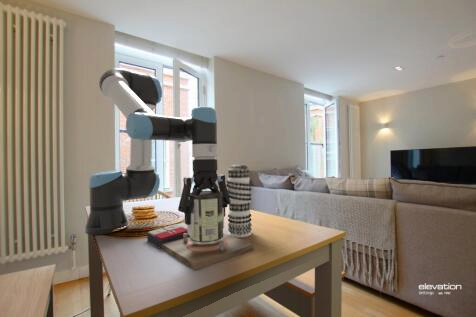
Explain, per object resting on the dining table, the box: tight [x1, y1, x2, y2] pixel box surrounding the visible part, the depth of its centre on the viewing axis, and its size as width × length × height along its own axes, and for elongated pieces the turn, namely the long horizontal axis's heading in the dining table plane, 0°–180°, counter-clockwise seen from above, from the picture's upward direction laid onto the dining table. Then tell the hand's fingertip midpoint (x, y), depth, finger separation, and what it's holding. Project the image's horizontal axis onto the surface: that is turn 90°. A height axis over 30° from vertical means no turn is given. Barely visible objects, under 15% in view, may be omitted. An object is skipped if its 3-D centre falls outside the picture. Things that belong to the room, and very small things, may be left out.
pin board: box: [161, 232, 254, 271], centre depth 74 cm, size 20×20×4 cm
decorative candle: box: [225, 164, 253, 238], centre depth 88 cm, size 9×9×25 cm
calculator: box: [146, 221, 190, 250], centre depth 84 cm, size 11×4×15 cm
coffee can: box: [189, 190, 224, 245], centre depth 74 cm, size 10×10×14 cm
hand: (206, 231), depth 74 cm, fingers open, 10 cm apart
